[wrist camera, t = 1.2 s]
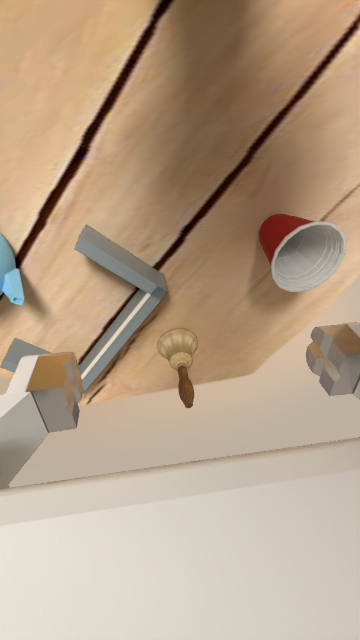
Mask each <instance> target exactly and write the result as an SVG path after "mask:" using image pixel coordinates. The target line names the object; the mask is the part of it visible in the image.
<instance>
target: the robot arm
mask: <svg viewBox="0 0 360 640" xmlns="http://www.w3.org/2000/svg"><path fill="white" fill-rule="evenodd" d="M311 338H312V340H313V342H312V343H311V344H310V345H309V346H308V348H307V352H306V359H307V363H308V366H309V368H310V369H311V371H312V372H313V373H315V374H317V375H318V376H320V379H319V382H320V384H321V385H322V386H323V388H324V389H325V391H326V392H327V393H328V395H329V396H334V395H345V394H353V395H354V396H356V397H357V398H359V399H360V323H358V322H353V323H345V324H339V325H330V326H322V327H315V328H314V329H313V331H312V333H311ZM76 364H77V360H76V356H75V353H73V352H62V353H50V354H41V355H28V356H24V357H22V358H21V360H20V362H19V364H18V366H17V369H16V371H15V373H14V376H13V378H12V380H11V382H10V385H9V387H8V389H7V392H6V394H4V395H0V640H360V437H358V438H352V439H345V440H337V441H332V442H324V443H318V444H310V445H303V446H296V447H289V448H283V449H276V450H269V451H262V452H255V453H248V454H241V455H234V456H227V457H220V458H213V459H206V460H199V461H193V462H186V463H179V464H172V465H165V466H158V467H151V468H144V469H137V470H131V471H123V472H116V473H109V474H103V475H96V476H89V477H82V478H75V479H68V480H61V481H54V482H47V483H41V484H34V485H27V486H20V487H13V488H10V487H9V483H10V482H11V481H12V479H13V478H14V477H15V476H16V474H17V473H18V472H19V471H20V469H21V468H22V467H23V466H24V464H25V463H26V462H27V461H28V459H29V458H30V457H31V456H32V454H33V453H34V452H35V451H36V449H37V448H38V447H39V446H40V444H41V443H42V442H43V440H44V439H45V438H46V437H47V435H48V433H49V432H56V431H62V430H68V429H75V428H77V423H78V417H79V407H78V403H79V402H80V401H81V399H82V378H81V374H80V371H79V370H77V369H76Z"/></svg>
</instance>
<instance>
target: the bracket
mask: <svg viewBox="0 0 360 640" xmlns="http://www.w3.org/2000/svg"><path fill="white" fill-rule="evenodd" d="M75 250H77V251H78V252H80V253H82V254H83V255H85V256H87V257H88V258H90V259H92V260H93V261H95V262H97V263H98V264H100V265H102V266H103V267H105V268H107V269H108V270H110V271H112V272H113V273H115V274H117V275H118V276H120V277H122V278H123V279H125V280H127V281H128V282H130V283H132V284H133V285H135V286H137V287H138V288H140V289H139V290H138V291H137V293H136V294H135V295H134V296H133V298H132V299H131V300H130V301H129V303H128V304H127V305H126V307H125V308H124V309H123V310H122V312H121V313H120V314H119V316H118V317H117V318H116V319H115V321H114V322H113V323H112V324H111V326H110V327H109V328H108V330H107V331H106V332H105V333H104V335H103V336H102V337H101V339H100V340H99V341H98V342H97V344H96V345H95V346H94V347H93V349H92V350H91V351H90V353H89V354H88V355H87V356H86V358H85V359H84V360H83V362H82V363H81V364H80V365H79V364H76V369H77V370H79V371H80V374H81V378H82V394H83V393H84V392H85V390H86V389H87V388H88V387H89V386H90V384H91V383H92V382H93V381H94V380H95V378H96V377H97V376H98V375H99V374H100V372H101V371H102V370H103V369H104V368H105V366H106V365H107V364H108V363H109V362H110V360H111V359H112V358H113V357H114V356H115V354H116V353H117V352H118V351H119V350H120V348H121V347H122V346H123V345H124V344H125V342H126V341H127V340H128V339H129V338H130V336H131V335H132V334H133V333H134V332H135V330H136V329H137V328H138V327H139V326H140V324H141V323H142V322H143V321H144V320H145V318H146V317H147V316H148V315H149V314H150V312H151V311H152V310H153V309H154V308H155V306H156V305H157V304H158V303H159V302H160V300H161V299H162V298H163V297H164V296H165V294H166V293H167V292H168V291H167V286H166V281H165V277H164V275H163V274H162V273H160V272H159V271H157V270H156V269H154V268H153V267H151V266H149V265H148V264H146V263H145V262H143V261H142V260H140V259H139V258H137V257H136V256H134V255H133V254H131V253H129V252H128V251H126V250H125V249H123V248H122V247H120V246H119V245H117V244H116V243H114V242H113V241H111V240H110V239H108V238H106V237H105V236H103V235H102V234H100V233H99V232H97V231H96V230H94V229H93V228H91V227H90V226H88V225H86V226H85V227H84V229H83V230H82V232H81V234H80V235H79V238H78V241H77V243H76V246H75ZM41 354H50V352H48V351H45V350H43V349H41V348H38V347H36V346H33V345H31V344H29V343H26V342H24V341H22V340H19V339H17V338H15V339H14V341H13V342H12V344H11V346H10V348H9V350H8V352H7V354H6V356H5V358H4V360H3V362H2V364H1V366H0V367H1V368H4V369H6V370H9V371H12V372H15V371H16V369H17V366H18V364H19V362H20V360H21V358H22V357H24V356H28V355H41Z"/></svg>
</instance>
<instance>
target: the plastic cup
mask: <svg viewBox="0 0 360 640" xmlns="http://www.w3.org/2000/svg"><path fill="white" fill-rule="evenodd" d="M259 235H260V242H261V244H262V246H263V249H264V251H265V253H266V255H267V258H268V260H269V262H270V265H271V271H272V278H273V280H274V281H275V282H276V284H277V285H278V287H279V288H282V289H284V290H286V291H288V292H303V291H306V290H309V289H312V288H315V287H317V286H318V285H320V284H321V283H323V282H324V281H326V280H327V279H328V278H329V277H330V276H331V275H332V274H333V273H334V272H335V271H336V269H337V268H338V267H339V265H340V263H341V261H342V259H343V257H344V255H345V249H346V239H345V236H344V234H343V232H342V229H340V228H339V227H337V226H336V225H334V224H333V223H331V222H318V221H310V220H306V219H302V218H299V217H295V216H289V215H284V214H276V215H273V216H271V217H269V218H268V219H267V220H265V222H264V223H263V225H262V226H261V229H260V233H259Z"/></svg>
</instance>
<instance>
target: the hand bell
mask: <svg viewBox="0 0 360 640" xmlns="http://www.w3.org/2000/svg"><path fill="white" fill-rule="evenodd" d="M197 344H198V341H197V338H196V336H195V335H194V334H193V333H192V332H191V331H189V330H186V329H173V330H170V331H168V332H166V333H165V334H163V335H162V336H161V338H160V339H159V341H158V351H159V353H160V354H161V355H162V356H163V357H164V358H166V359H168V360H169V363H170V366H171V367H172V368H174V369H176V370H178V373H179V378H180V381H179V395H180V398H181V400H182V401H183V403H184V405H185V407H186V408H191V407H192V406H193V399H194V389H193V386H192V383H191V381H190V380H189V378H188V375H187V368H188V367H189V366H190V365H191V363H192V354H193V353H194V352H195V350H196V348H197Z"/></svg>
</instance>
